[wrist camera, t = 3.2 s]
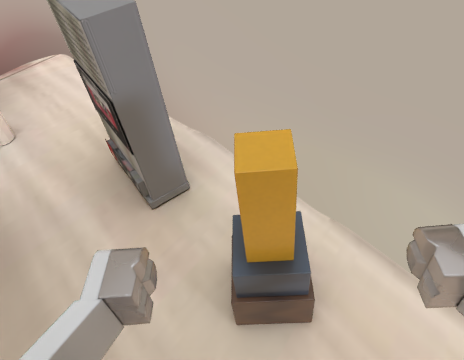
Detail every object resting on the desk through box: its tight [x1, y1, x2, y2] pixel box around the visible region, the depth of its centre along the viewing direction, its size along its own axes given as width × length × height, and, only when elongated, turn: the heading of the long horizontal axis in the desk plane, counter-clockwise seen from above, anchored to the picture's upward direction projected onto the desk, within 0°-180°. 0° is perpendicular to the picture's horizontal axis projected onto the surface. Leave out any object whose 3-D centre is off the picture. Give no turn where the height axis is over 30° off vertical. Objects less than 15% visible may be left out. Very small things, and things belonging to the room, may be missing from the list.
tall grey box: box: [47, 0, 190, 209], centre depth 44 cm, size 14×6×25 cm, turn 35°
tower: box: [231, 211, 315, 325], centre depth 35 cm, size 8×8×9 cm
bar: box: [234, 129, 298, 262], centre depth 28 cm, size 4×4×11 cm
